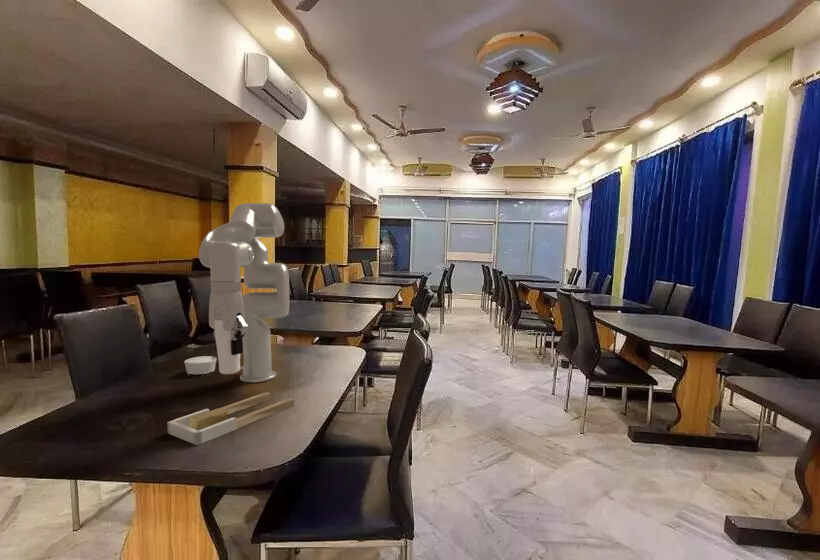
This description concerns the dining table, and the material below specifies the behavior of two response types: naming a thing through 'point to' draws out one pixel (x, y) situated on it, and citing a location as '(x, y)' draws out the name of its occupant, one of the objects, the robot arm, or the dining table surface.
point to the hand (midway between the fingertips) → (229, 351)
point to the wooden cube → (218, 415)
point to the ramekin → (200, 365)
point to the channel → (259, 413)
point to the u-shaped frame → (197, 437)
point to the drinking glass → (226, 349)
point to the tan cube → (201, 421)
